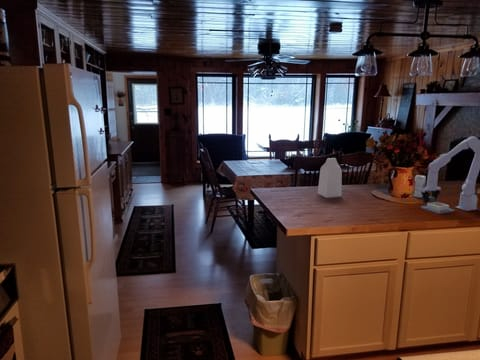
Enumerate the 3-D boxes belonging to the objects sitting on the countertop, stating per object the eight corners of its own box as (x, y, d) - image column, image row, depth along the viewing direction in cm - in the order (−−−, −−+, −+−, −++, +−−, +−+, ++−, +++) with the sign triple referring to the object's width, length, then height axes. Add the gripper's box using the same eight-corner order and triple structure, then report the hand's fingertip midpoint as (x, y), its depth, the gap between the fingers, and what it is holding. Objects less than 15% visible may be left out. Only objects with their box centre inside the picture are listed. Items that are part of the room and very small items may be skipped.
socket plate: (435, 205, 232) (436, 200, 231) (454, 211, 220) (455, 205, 220) (420, 208, 227) (421, 202, 226) (439, 214, 215) (439, 208, 215)
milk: (332, 192, 264) (334, 156, 259) (341, 196, 254) (343, 159, 248) (317, 193, 261) (319, 157, 255) (326, 197, 250) (328, 160, 244)
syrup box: (414, 194, 257) (416, 174, 254) (423, 196, 254) (426, 175, 250) (412, 196, 253) (414, 176, 250) (421, 198, 249) (423, 177, 246)
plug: (429, 203, 237) (429, 195, 236) (434, 205, 234) (435, 197, 232) (424, 204, 236) (425, 196, 235) (429, 205, 232) (430, 198, 231)
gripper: (435, 179, 238) (432, 199, 241) (418, 181, 232) (416, 201, 235) (444, 181, 231) (442, 202, 234) (427, 183, 226) (425, 204, 229)
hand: (429, 202), depth 234 cm, fingers open, 6 cm apart
